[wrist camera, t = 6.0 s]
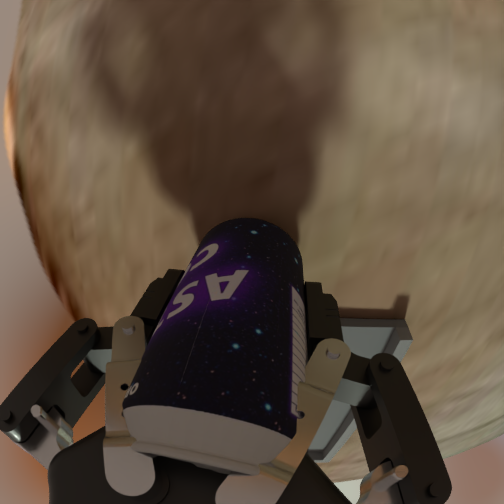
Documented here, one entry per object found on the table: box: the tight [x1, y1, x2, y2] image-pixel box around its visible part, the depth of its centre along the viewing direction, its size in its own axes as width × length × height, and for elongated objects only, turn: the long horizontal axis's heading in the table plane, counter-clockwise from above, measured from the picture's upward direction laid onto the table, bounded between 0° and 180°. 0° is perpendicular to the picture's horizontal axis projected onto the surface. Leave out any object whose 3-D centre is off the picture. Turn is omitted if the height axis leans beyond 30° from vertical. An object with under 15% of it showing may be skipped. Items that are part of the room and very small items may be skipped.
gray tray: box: [308, 318, 413, 463], centre depth 23 cm, size 24×14×2 cm, turn 178°
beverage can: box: [122, 218, 308, 476], centre depth 11 cm, size 6×6×12 cm
